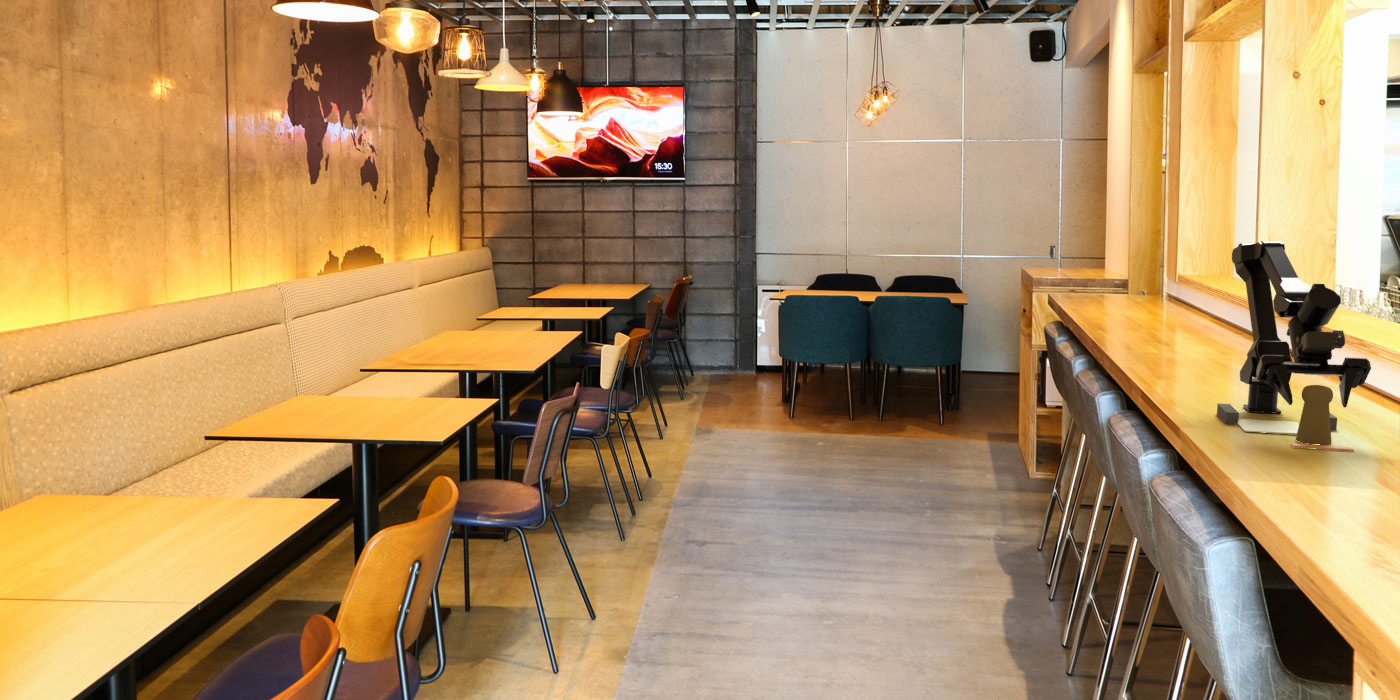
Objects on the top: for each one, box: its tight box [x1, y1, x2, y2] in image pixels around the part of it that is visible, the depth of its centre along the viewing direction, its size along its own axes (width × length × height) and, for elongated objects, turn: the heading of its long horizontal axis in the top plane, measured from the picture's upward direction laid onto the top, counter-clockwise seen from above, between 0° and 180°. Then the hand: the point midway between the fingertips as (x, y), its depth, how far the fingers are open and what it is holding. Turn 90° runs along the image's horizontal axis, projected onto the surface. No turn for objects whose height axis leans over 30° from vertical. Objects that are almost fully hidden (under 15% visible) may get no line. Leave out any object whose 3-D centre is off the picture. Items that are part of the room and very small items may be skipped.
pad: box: [1236, 418, 1300, 436], centre depth 210 cm, size 12×12×1 cm
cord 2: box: [1330, 412, 1338, 430], centre depth 213 cm, size 10×2×2 cm, turn 163°
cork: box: [1295, 384, 1334, 446], centre depth 197 cm, size 6×6×11 cm
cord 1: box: [1216, 403, 1240, 425], centre depth 218 cm, size 10×2×2 cm, turn 163°
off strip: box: [1290, 443, 1355, 453], centre depth 192 cm, size 2×10×1 cm, turn 73°
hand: (1318, 404), depth 196 cm, fingers open, 9 cm apart
